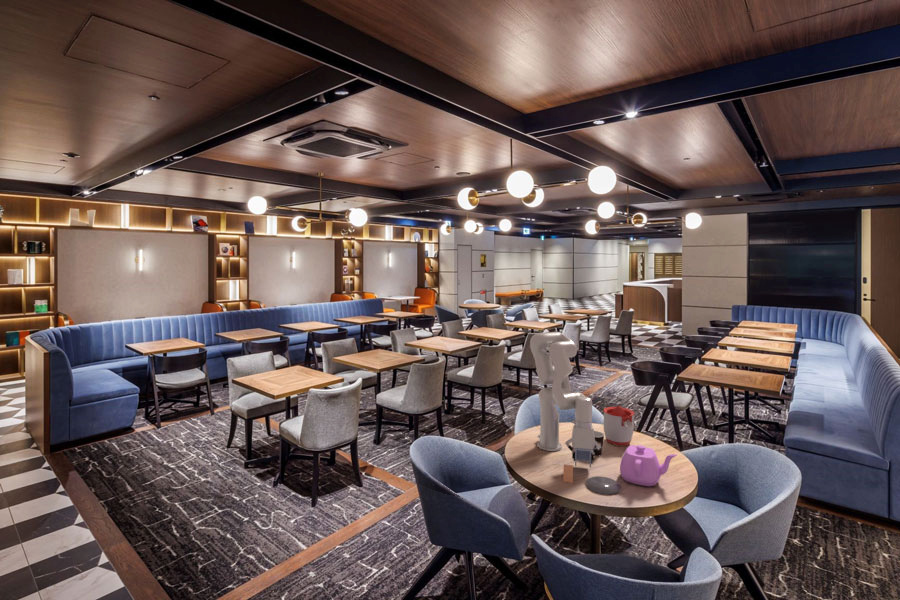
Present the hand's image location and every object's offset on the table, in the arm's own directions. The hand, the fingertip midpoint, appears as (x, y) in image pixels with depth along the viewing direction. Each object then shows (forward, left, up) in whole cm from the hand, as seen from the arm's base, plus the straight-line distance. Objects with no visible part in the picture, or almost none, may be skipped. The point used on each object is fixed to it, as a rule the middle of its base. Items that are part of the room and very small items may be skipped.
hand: (582, 460), depth 209 cm
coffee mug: (-12, +16, -4) cm, 21 cm away
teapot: (+19, +17, -4) cm, 26 cm away
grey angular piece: (0, 0, -1) cm, 1 cm away
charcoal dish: (+17, -3, -4) cm, 17 cm away
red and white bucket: (-16, +38, -4) cm, 42 cm away
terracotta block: (+6, -13, -4) cm, 15 cm away
